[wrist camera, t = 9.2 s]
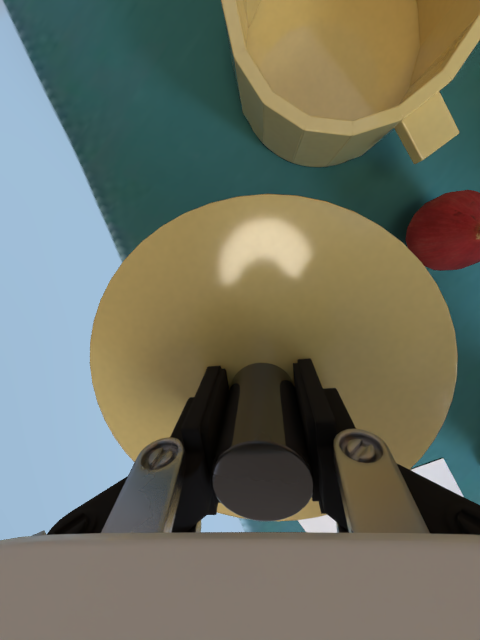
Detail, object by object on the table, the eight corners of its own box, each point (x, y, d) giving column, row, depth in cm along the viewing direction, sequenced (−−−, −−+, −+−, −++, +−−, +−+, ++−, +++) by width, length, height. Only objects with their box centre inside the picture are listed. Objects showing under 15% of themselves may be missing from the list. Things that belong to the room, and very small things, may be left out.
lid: (311, 99, 9) (386, -114, 4) (500, 415, 12) (698, 562, 6) (41, 341, 13) (-120, 416, 7) (233, 535, 16) (218, 692, 10)
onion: (449, 186, 22) (545, 157, 15) (464, 248, 24) (560, 252, 16) (381, 218, 23) (437, 207, 16) (399, 275, 25) (459, 291, 17)
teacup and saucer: (347, 540, 35) (357, 577, 32) (405, 522, 34) (423, 559, 30) (375, 580, 37) (387, 619, 33) (430, 564, 35) (451, 605, 32)
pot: (341, -172, 17) (397, -472, 10) (475, 109, 21) (587, 40, 13) (178, 17, 21) (133, -101, 13) (317, 228, 24) (339, 223, 17)
